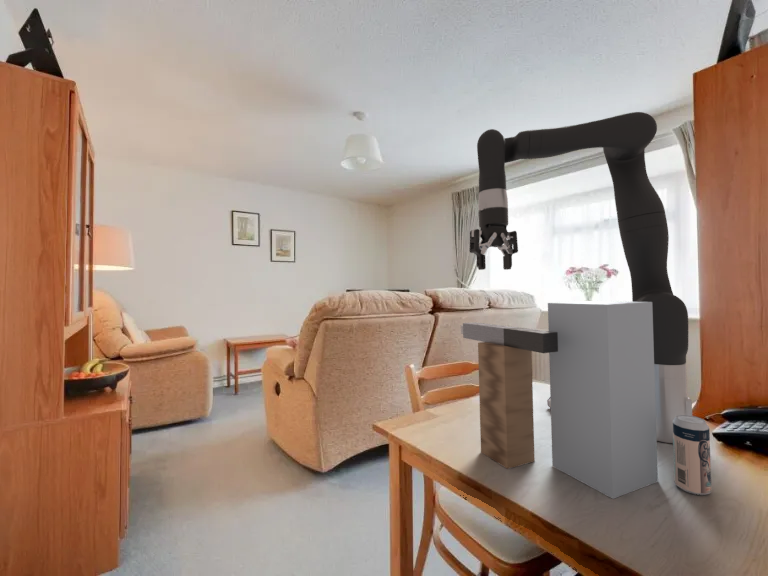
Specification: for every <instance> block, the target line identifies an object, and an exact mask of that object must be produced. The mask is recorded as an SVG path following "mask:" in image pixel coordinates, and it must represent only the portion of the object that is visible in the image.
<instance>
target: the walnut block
mask: <svg viewBox="0 0 768 576" xmlns="http://www.w3.org/2000/svg"><path fill="white" fill-rule="evenodd" d="M532 352H533V351H529V350H523V349H518V348H513V347H508V346H503V345H498V344H493V343H487V342H482V341H479V342H478V343H477V354H478V355H477V356H478V357H477V358H478V387H479V389H478V391H479V392H478V395H479V396H478V397H479V427H480V429H479V430H480V453H481V454H483V455H485V456H486V457H488V458H489V459H492V460H493V461H494V462H496V463H498V464H499V465H500V466H502V467H504V468H505V469H507V470H509V469H513V468H516V467H520V466H522V465H525V464H530V463H533V462H535V461H536V460H535V459H536V458H535V430H534V429H535V425H534V424H535V423H534V399H533V397H534V396H533V393H534V392H533V359H532V358H533V357H532V355H533V353H532Z"/></svg>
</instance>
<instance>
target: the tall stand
mask: <svg viewBox="0 0 768 576" xmlns="http://www.w3.org/2000/svg"><path fill="white" fill-rule="evenodd" d="M547 321H548V322H547V326H548V331H552V332H558V352H551V353H548V357H549V358H548V360H549V362H548V363H549V391H550V392H549V393H550V397H549V398H551V408H550V424H551V425H550V427H551V459H552V460H551V461H552V462H551V463H552V467H553V468H555V469H556V470H559V471H560V472H562V473H564V474H565V475H568V476H569V477H571V478H574V479H576V480H577V481H579V482H581V483H583V484H584V485H587V486H588V487H590V488H592V489H594V490H596V491H598V492H600V493H601V494H603V495H605V496H607V497H609V498H611V499H613V500H614V499H616V498H618V497H621V496H624V495H627V494H630V493H632V492H634V491H637V490H640V489H643V488H645V487H648V486H650V485H653V484H656V483H658V481H659V479H658V446H657V442H658V441H657V440H656V408H655V375H654V342H653V309H652V302H632V301H626V300H623V301H619V300H618V301H617V300H611V301H610V300H583V301H582V300H580V301H561V302H560V301H559V302H547Z"/></svg>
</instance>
